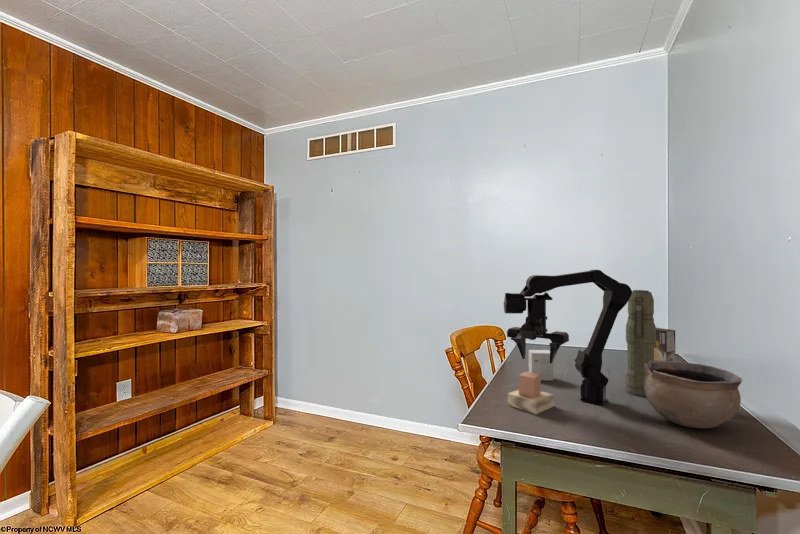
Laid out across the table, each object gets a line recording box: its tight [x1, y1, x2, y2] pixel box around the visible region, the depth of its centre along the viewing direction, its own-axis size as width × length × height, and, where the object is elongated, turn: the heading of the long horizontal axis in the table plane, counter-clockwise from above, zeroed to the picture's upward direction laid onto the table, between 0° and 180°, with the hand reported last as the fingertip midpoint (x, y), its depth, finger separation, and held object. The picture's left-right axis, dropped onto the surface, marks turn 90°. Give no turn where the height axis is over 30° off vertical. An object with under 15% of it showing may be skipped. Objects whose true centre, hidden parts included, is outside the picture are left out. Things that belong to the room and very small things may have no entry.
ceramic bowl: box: [644, 360, 743, 429], centre depth 109 cm, size 22×22×15 cm
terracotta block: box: [518, 371, 542, 398], centre depth 122 cm, size 5×5×6 cm
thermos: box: [624, 289, 657, 398], centre depth 134 cm, size 9×12×35 cm
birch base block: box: [507, 388, 555, 415], centre depth 122 cm, size 10×10×4 cm
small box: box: [528, 349, 554, 381], centre depth 151 cm, size 8×6×10 cm
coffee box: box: [654, 327, 676, 361], centre depth 168 cm, size 9×6×16 cm
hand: (537, 361), depth 129 cm, fingers open, 9 cm apart
